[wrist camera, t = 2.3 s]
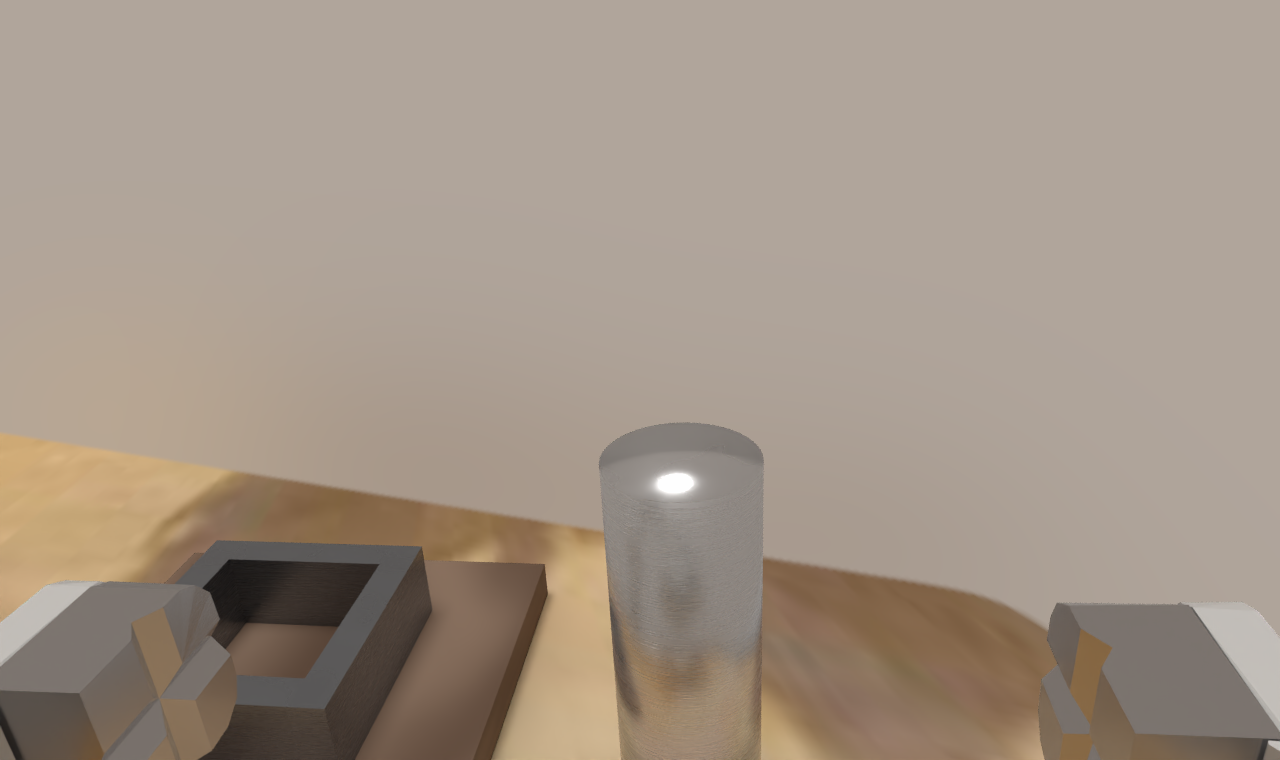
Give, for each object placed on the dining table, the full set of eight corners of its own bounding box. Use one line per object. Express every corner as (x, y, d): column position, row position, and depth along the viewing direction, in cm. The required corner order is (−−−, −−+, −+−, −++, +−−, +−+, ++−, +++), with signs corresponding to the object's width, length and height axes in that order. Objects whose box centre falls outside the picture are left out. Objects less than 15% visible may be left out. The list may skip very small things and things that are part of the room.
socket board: (-82, 884, 26) (-101, 849, 26) (202, 580, 40) (194, 552, 39) (432, 929, 24) (424, 892, 24) (547, 593, 38) (544, 564, 37)
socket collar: (94, 767, 28) (65, 694, 27) (234, 602, 36) (216, 540, 35) (342, 783, 27) (324, 709, 26) (432, 610, 35) (421, 546, 34)
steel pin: (618, 893, 25) (586, 500, 20) (635, 779, 29) (611, 421, 24) (760, 904, 25) (764, 504, 19) (759, 787, 28) (762, 423, 23)
